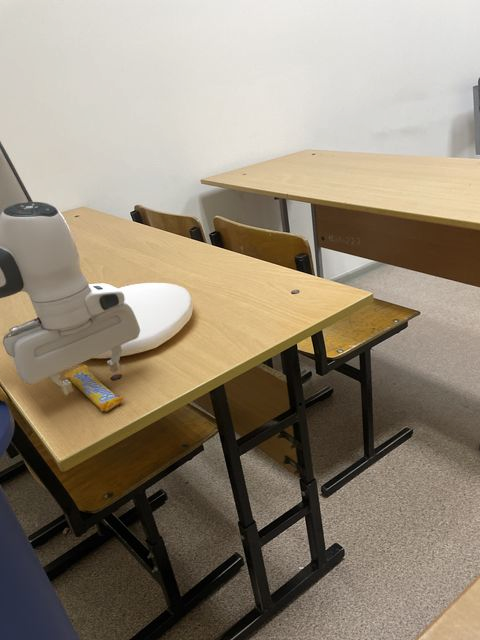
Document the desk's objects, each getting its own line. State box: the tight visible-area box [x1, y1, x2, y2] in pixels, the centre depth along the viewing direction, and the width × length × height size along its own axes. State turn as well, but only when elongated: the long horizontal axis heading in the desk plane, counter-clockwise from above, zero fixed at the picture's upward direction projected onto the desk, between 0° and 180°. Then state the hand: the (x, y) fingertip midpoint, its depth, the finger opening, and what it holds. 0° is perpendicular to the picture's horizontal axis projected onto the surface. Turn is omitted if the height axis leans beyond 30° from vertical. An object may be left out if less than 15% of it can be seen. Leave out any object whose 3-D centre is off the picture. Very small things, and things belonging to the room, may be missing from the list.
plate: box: [92, 282, 194, 359], centre depth 108 cm, size 28×6×27 cm
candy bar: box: [63, 364, 124, 413], centre depth 90 cm, size 17×4×2 cm, turn 39°
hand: (92, 380), depth 90 cm, fingers open, 7 cm apart
